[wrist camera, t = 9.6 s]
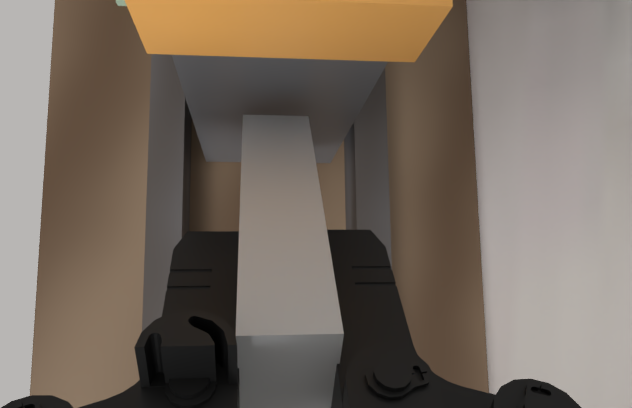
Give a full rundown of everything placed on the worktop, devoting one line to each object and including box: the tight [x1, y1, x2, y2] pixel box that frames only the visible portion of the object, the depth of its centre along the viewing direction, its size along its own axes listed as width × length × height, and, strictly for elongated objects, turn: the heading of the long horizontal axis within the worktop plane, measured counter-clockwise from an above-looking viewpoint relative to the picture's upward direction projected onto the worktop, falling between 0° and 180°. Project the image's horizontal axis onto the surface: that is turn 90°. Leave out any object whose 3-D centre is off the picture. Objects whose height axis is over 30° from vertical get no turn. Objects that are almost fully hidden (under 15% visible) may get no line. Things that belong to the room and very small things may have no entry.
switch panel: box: [30, 0, 489, 408], centre depth 18 cm, size 14×26×4 cm, turn 1°
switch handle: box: [125, 0, 453, 163], centre depth 14 cm, size 5×5×11 cm
